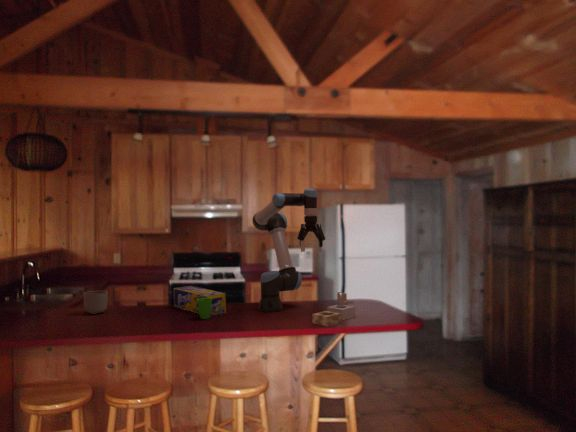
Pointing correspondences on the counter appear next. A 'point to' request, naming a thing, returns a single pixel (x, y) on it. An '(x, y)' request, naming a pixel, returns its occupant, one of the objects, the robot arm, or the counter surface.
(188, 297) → the box
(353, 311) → the tan holed block
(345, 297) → the pipe connector
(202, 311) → the cup
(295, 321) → the counter surface
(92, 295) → the planter
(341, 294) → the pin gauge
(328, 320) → the tan square block
